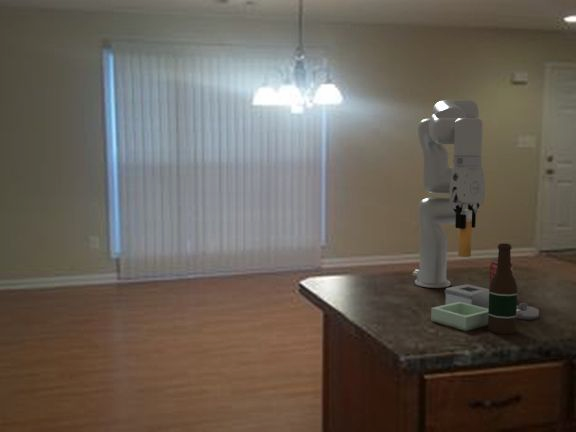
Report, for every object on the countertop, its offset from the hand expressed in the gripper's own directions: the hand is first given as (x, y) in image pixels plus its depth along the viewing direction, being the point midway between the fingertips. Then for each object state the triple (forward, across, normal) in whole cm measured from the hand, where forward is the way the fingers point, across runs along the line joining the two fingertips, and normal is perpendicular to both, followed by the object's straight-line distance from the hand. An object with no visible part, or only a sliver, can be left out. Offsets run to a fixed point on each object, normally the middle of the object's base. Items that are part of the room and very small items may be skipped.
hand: (465, 227), depth 182 cm
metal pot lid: (+28, +20, -6) cm, 35 cm away
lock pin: (+8, 0, 0) cm, 8 cm away
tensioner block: (+28, +14, +9) cm, 32 cm away
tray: (+28, 0, 0) cm, 28 cm away
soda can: (+28, +30, +9) cm, 42 cm away
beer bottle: (+28, +2, -12) cm, 30 cm away
